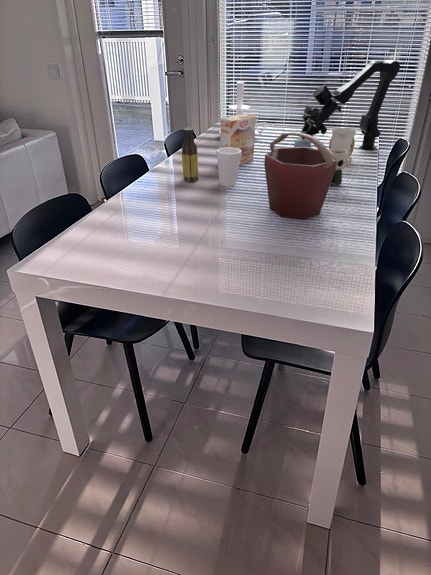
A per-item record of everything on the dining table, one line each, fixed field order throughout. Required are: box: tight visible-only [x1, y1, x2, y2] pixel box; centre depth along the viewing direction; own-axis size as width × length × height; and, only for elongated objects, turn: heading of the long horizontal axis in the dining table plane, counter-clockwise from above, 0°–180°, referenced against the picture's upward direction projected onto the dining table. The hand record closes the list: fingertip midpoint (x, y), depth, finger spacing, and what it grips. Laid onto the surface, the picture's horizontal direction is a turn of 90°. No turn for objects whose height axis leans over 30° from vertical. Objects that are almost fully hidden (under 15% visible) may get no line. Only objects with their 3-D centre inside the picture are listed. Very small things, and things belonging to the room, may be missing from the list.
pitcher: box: [328, 127, 357, 162], centre depth 196 cm, size 11×18×14 cm, turn 160°
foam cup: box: [216, 147, 241, 188], centre depth 167 cm, size 10×9×13 cm
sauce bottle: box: [181, 127, 199, 183], centre depth 169 cm, size 6×6×20 cm
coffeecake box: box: [219, 113, 257, 166], centre depth 189 cm, size 15×7×20 cm, turn 131°
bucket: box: [263, 132, 337, 221], centre depth 142 cm, size 24×22×25 cm
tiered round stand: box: [293, 138, 312, 148], centre depth 209 cm, size 13×13×6 cm
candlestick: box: [218, 80, 267, 137], centre depth 224 cm, size 21×25×28 cm
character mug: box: [328, 149, 353, 186], centre depth 168 cm, size 11×7×13 cm, turn 73°
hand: (300, 137), depth 206 cm, fingers closed on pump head, 3 cm apart
